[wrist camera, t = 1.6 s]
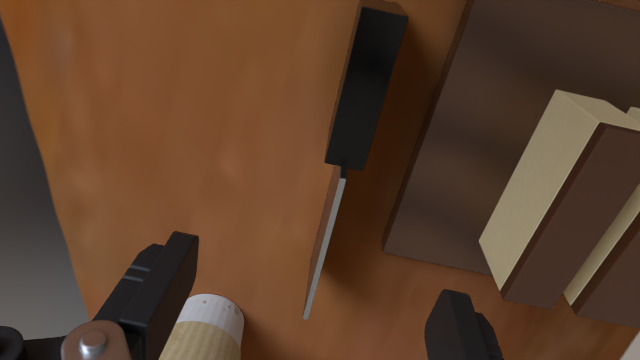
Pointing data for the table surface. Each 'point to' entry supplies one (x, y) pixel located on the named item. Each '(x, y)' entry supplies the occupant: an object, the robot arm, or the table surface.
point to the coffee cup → (206, 330)
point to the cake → (612, 269)
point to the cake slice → (561, 197)
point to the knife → (357, 111)
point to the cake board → (503, 113)
